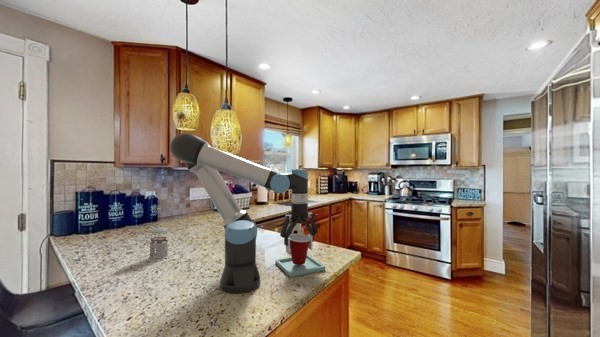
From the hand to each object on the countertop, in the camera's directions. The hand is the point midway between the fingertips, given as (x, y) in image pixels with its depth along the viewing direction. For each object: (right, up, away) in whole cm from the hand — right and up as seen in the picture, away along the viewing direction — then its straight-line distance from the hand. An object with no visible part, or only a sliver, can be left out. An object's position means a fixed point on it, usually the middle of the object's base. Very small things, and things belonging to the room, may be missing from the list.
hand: (299, 250), depth 111 cm
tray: (0, -7, 0) cm, 7 cm away
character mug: (-3, -8, +28) cm, 29 cm away
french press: (-71, -7, +11) cm, 73 cm away
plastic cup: (0, -6, 0) cm, 6 cm away
